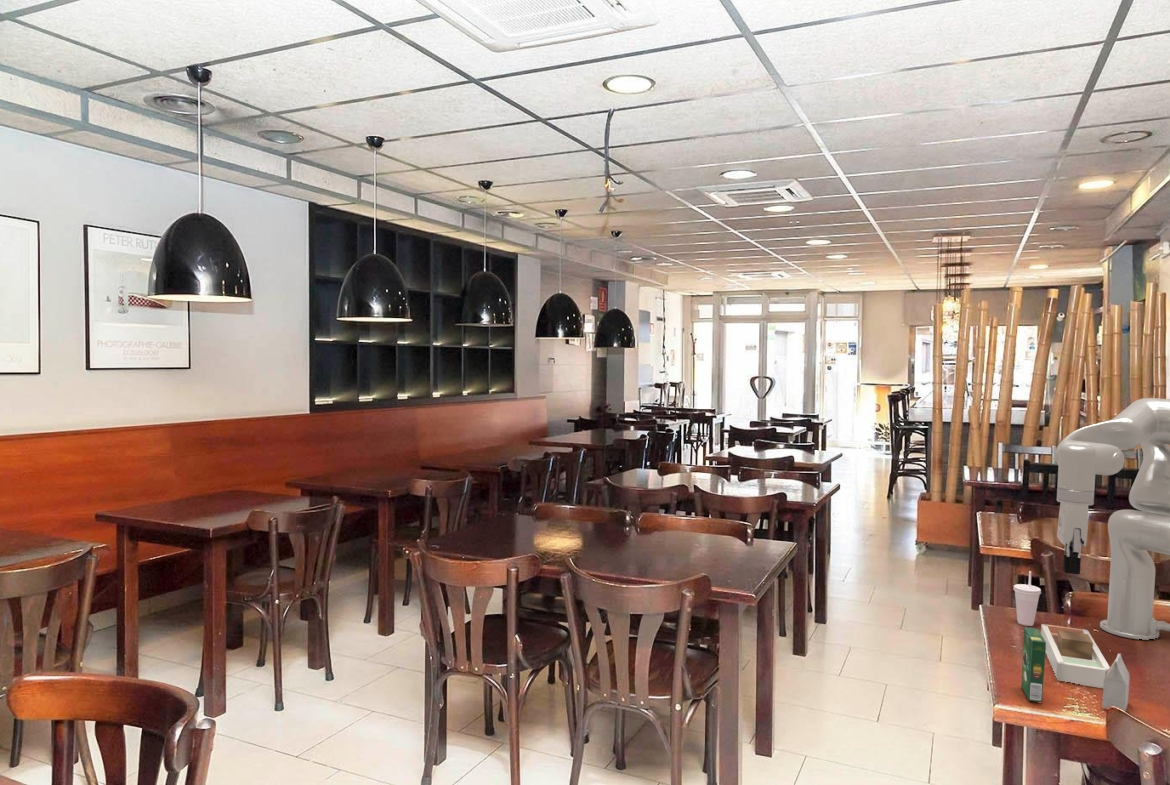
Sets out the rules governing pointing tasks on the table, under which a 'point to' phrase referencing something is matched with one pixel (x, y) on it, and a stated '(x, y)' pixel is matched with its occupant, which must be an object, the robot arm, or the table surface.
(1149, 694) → the table surface
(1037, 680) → the coffee box
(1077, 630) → the box
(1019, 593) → the smoothie
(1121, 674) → the milk carton
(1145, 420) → the robot arm
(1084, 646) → the block
